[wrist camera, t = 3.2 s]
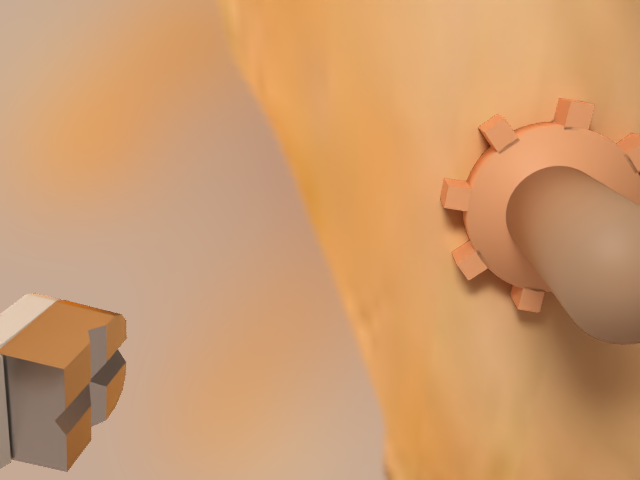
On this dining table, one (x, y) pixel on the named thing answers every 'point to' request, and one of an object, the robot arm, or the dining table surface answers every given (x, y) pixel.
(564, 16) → the dining table surface
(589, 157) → the gear
